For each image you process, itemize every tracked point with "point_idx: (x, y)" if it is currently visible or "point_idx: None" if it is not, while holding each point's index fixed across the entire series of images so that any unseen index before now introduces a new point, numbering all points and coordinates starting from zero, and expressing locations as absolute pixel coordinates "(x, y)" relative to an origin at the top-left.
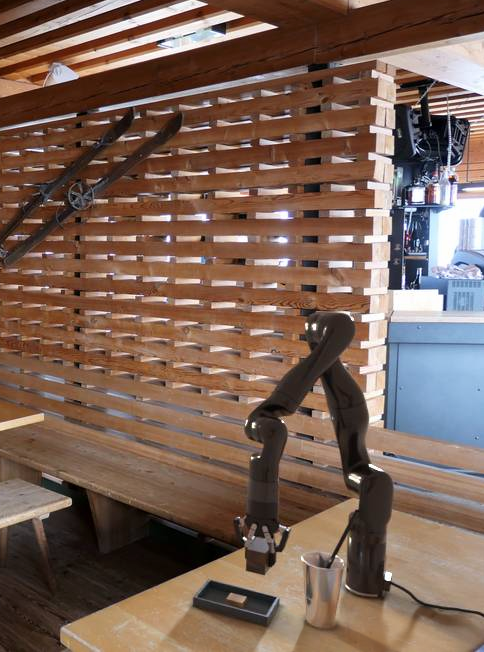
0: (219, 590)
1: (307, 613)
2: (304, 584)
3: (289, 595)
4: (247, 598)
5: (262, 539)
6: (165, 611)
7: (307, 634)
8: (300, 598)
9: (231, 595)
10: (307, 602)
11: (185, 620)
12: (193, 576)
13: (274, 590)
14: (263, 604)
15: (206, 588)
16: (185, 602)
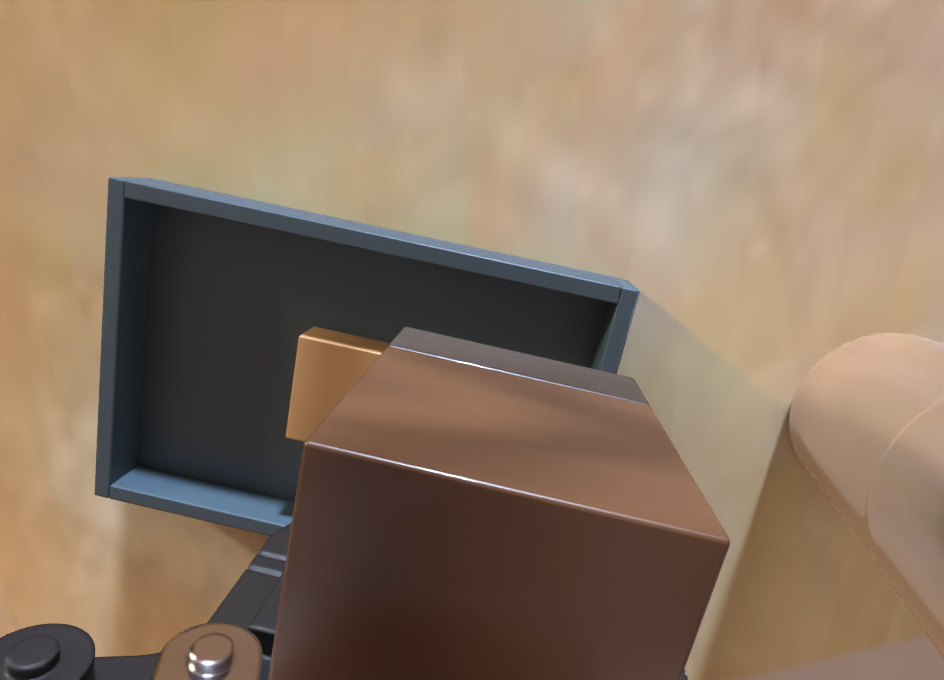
0: (226, 228)
1: (817, 480)
2: (915, 593)
3: (712, 75)
4: (417, 280)
5: (445, 536)
6: (24, 567)
7: (770, 580)
8: (792, 97)
9: (309, 376)
10: (856, 531)
11: (140, 624)
12: (12, 27)
13: (601, 28)
14: (524, 331)
15: (139, 271)
16: (83, 437)
